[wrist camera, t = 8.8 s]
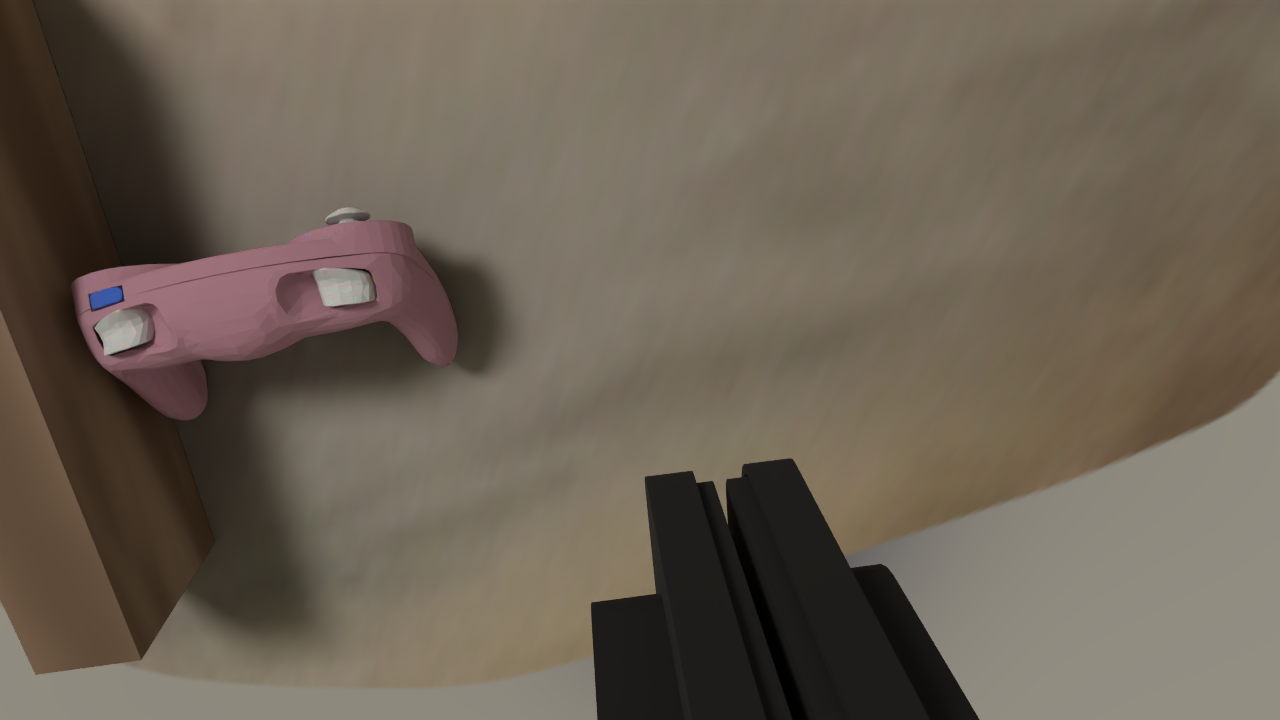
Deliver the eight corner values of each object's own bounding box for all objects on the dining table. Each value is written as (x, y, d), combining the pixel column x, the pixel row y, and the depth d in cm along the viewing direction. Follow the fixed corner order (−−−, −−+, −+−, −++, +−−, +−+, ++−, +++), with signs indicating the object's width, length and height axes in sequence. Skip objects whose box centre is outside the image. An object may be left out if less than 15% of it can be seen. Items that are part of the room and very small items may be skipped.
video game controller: (447, 232, 29) (388, 171, 22) (474, 363, 28) (422, 346, 21) (158, 292, 28) (4, 250, 22) (182, 425, 28) (34, 427, 21)
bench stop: (4, -82, 23) (-170, -112, 17) (214, 542, 30) (141, 660, 25) (-112, -72, 23) (-326, -100, 17) (129, 554, 30) (35, 674, 25)
